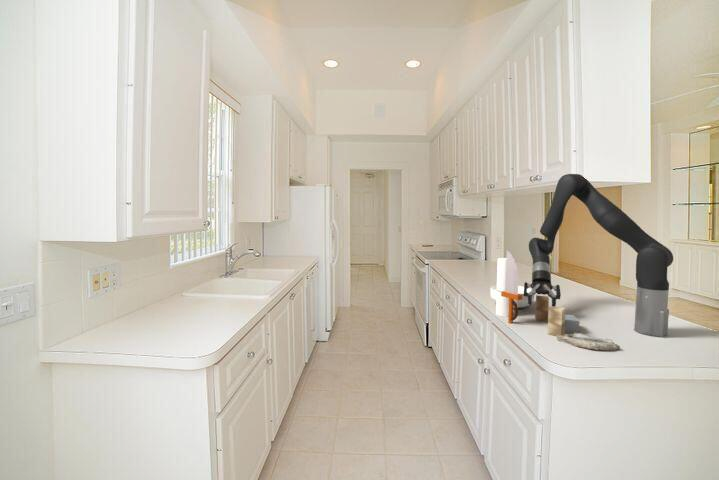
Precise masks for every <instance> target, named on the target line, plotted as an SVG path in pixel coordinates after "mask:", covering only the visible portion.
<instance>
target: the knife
mask: <svg viewBox="0 0 719 480" xmlns="http://www.w3.org/2000/svg"><path fill="white" fill-rule="evenodd" d="M505 258H506V276H505V291H502V292H501V296H503V297H507V298H509V315H508V317H507V320H508V321H507V322H508V324H513V323H514V321H516V319H517V318H518V314H519V308H518V307H517V304H516V302H515V301H514V299H515V300H522V295H520V294H518V286H519V273H518V272H519V271H518V266H517V264H516V260H515V261H514V259H515V258H514V256H513V255H512V253H511V252H510V251H509V250H506V257H505ZM513 305H514V307H515V308H513Z"/></svg>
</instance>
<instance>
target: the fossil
mask: <svg viewBox="0 0 719 480" xmlns="http://www.w3.org/2000/svg"><path fill="white" fill-rule="evenodd" d="M556 339H557V341H558V342H559V341H560V342H561V343H563V344H567V345H569V346H570V345H571V346H575V347H577V348H583V349H588V350H596V351H619V349H620V348H621V346H620V345H619V344H617V343H615V342H614V341H613V340H612V339H609V338H600V337H595V336H590V335H587V334H585V333H581V332H579V333H564V335H557V337H556Z"/></svg>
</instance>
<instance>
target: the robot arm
mask: <svg viewBox="0 0 719 480" xmlns="http://www.w3.org/2000/svg"><path fill="white" fill-rule="evenodd" d="M584 177H585V176H584ZM584 177H583V175H582V174H580V173H579V174H578V173H567V174H564V175H562V176H561V177H560V178H559V179H558V181H557V184H556V187H555V189H554V190H555V191H554V194H553V197H552V201H551V204H550V207H549V210H548V212H547V215H546V217H545V219H544V221H543V223H542V225H541V226H540V229H539V234H540V235H542V236H544V237H546V238H547V239H543V238H540V237H533V238H531V239H530V240H529V241H528V250H529V254H530V255H531V259H532V270H531V283H528V282H526V281H525V282H524V283H523V284H524V285H523V287H524V294H523V295H524V296H527V297H528V304H530V306H532V296H533V295H534V296H536V294H537V295H542V296H546V295H547V296H548V298H550V299H551V307H552V306H555V307H557V306H556V305H557V300H561V296H562V294H561V289H560V288H561V287H560V285H559V284H556V285H553V284H552V275H551V263H550V256H549V255H550V254H552V253H553V251H554V246H555V240H556V237H557V234H558V232H559V229H560V228H561V227H562V223H563V221H564V217H565V216H564V215H565V210H566V206H567V204H568V202H569V200H570V199H571V197H572V196H573V197H575V198H577V199H578V200H579V201H580V202H582V203H583V204H584V205H585V206H586V208H587V209H588V211H589V212H590V215H591V217H592V219H593V220H594V221H595V222H596V223H597V224H598V225H599V226H600V227H601V228H603V230H605V231H606V232H607V233H609V234H610V235H612V236H613V237H615V238H616V239H619V240H621V241H622V242H624V243H626V244H627V245H628V246H629V247H631V248H632V250H634V251H635V252H636V253H637V254H636V259H635V279H636V284H637V285H636V294H635V295H636V296H635V311H634V326H633V327H634V328H633V329H634V331H635V332H636V333H640V334H642V335H648V336H653V337H661V338H664V337H665V336H667V335H668V331H669V330H668V329H669V317H670V309H669V308H668V304H669V291H670V282H669V280H668V268H669V267H670V266H671V265H672V264H673V262H674V255H673V252H672V251H671V250H670V248H668V247H667V246H665V245H664V244H662V243H661V242H659V241H658V240H656V239H655V238H653V237H652V236H651V235H649V234H648V233H647V232H646V231H644V230H643V229H642V227H640V225H638V224H637V222H635V221H634V220H633V219H632V218H631V217H629V215H628V214H626V213H625V212H624V211H623V210H622V209H620V208H619V206H617V205H616V204H614V203H613V202H612V201H611V200H610V199H608V198H607V197H605V196H604V195H603V194H602V193H600V191H599V190H597V189H596V188H595V187H594V186H593V185H592V183H591V182H590V181H589V180H588V179H587V178H586V177H585V178H586V179H585V178H584ZM528 288H531V289H532V290H531V291H530V292H529V293H527V289H528ZM553 290H554V292H555V293H554V292H553Z"/></svg>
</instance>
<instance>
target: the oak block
mask: <svg viewBox="0 0 719 480" xmlns="http://www.w3.org/2000/svg"><path fill="white" fill-rule="evenodd" d="M565 315H566V308H565V307H560V306H552V305H551V306H550V307H548V322H547V335H548V336H553V337H556V338H557V335H564V334H565V332H564V330H565Z"/></svg>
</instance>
